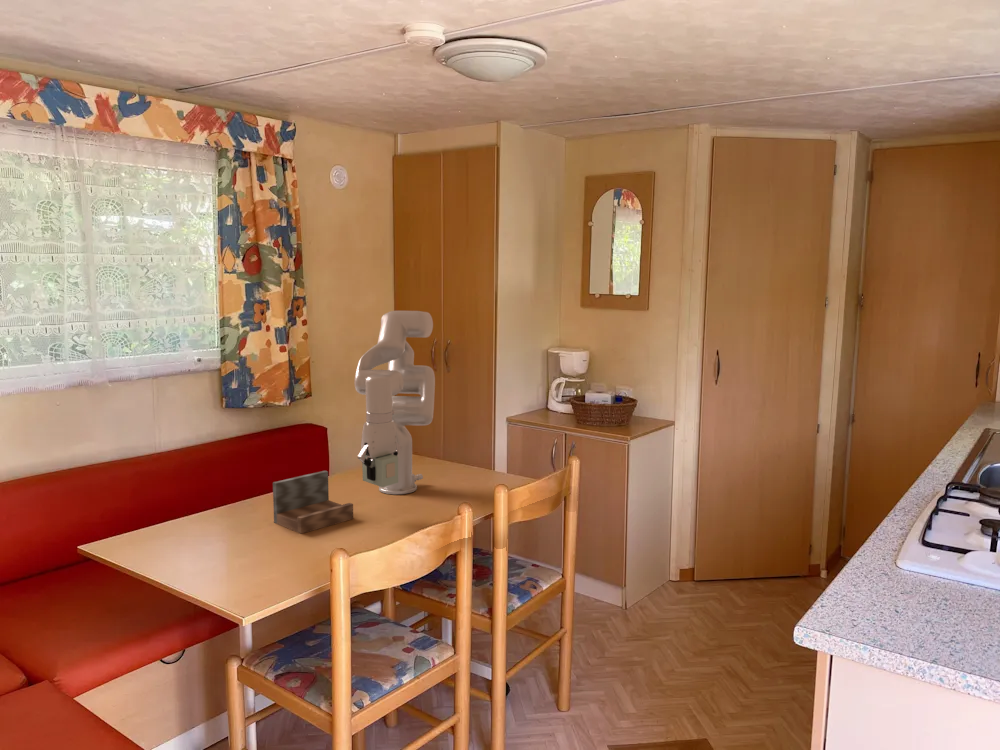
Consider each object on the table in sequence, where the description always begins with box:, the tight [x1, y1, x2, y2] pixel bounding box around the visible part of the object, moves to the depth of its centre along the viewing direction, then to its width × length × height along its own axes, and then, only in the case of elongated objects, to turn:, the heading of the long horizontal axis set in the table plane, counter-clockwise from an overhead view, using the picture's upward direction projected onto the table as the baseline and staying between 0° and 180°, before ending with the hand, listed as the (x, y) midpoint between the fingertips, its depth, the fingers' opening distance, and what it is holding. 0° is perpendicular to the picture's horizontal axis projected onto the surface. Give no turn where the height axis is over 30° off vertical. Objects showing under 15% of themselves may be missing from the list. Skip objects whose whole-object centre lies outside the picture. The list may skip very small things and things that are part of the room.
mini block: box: [361, 454, 398, 487], centre depth 227 cm, size 6×9×8 cm, turn 48°
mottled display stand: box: [272, 470, 354, 535], centre depth 226 cm, size 18×14×12 cm
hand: (380, 476), depth 228 cm, fingers closed on mini block, 6 cm apart
